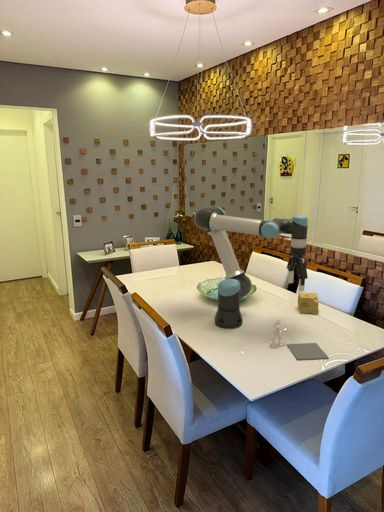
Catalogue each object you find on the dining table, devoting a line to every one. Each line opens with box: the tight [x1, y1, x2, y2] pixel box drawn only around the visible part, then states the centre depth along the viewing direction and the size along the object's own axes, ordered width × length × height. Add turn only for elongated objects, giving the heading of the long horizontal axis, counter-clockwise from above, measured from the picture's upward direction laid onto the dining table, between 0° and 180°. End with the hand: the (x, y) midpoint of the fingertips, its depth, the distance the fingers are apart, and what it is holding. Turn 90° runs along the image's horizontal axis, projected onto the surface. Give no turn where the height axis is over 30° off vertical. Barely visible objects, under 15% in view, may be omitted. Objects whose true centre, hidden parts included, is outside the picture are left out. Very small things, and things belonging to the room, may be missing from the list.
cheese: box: [297, 292, 319, 316], centre depth 206 cm, size 10×11×10 cm
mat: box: [286, 342, 330, 361], centre depth 159 cm, size 14×14×1 cm
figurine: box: [269, 319, 289, 349], centre depth 165 cm, size 5×9×12 cm, turn 124°
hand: (295, 286), depth 182 cm, fingers open, 13 cm apart
